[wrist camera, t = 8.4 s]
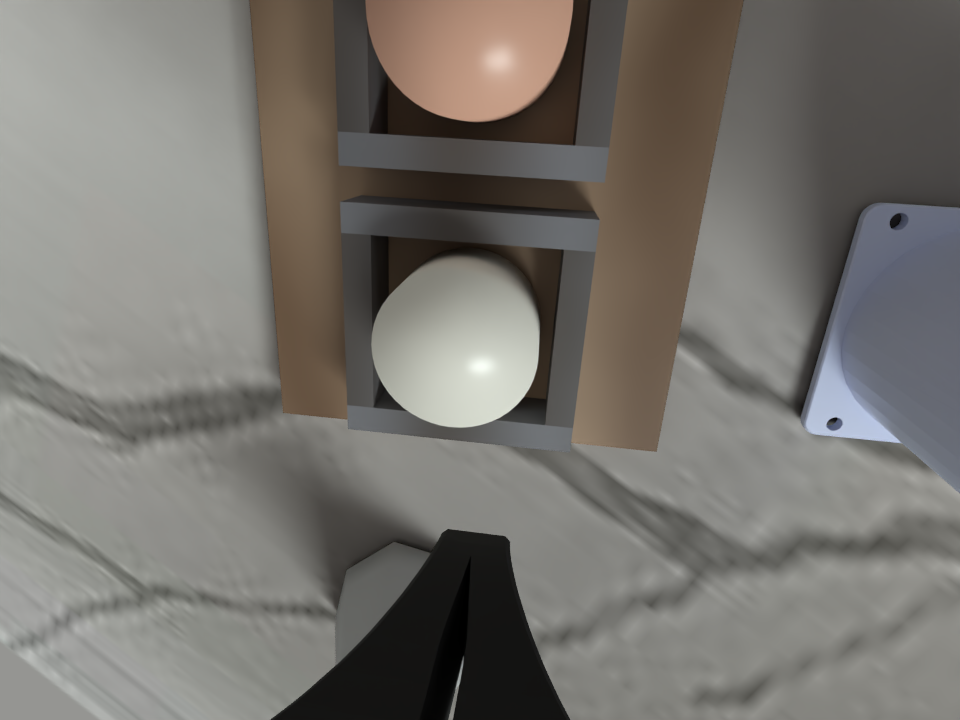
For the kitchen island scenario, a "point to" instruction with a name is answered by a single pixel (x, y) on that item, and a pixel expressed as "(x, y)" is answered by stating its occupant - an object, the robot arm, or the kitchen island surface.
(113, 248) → the kitchen island surface
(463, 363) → the cream rounded piece
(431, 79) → the terracotta key
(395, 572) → the flask
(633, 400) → the three-slot key tray
